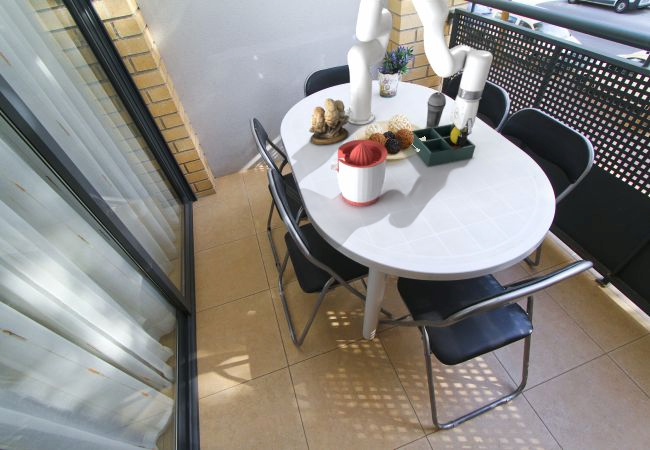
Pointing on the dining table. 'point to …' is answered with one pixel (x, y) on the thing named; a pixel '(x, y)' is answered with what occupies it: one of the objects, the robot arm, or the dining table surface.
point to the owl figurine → (329, 123)
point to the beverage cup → (435, 108)
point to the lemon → (455, 134)
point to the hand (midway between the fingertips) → (457, 140)
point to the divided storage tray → (440, 146)
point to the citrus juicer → (360, 171)
